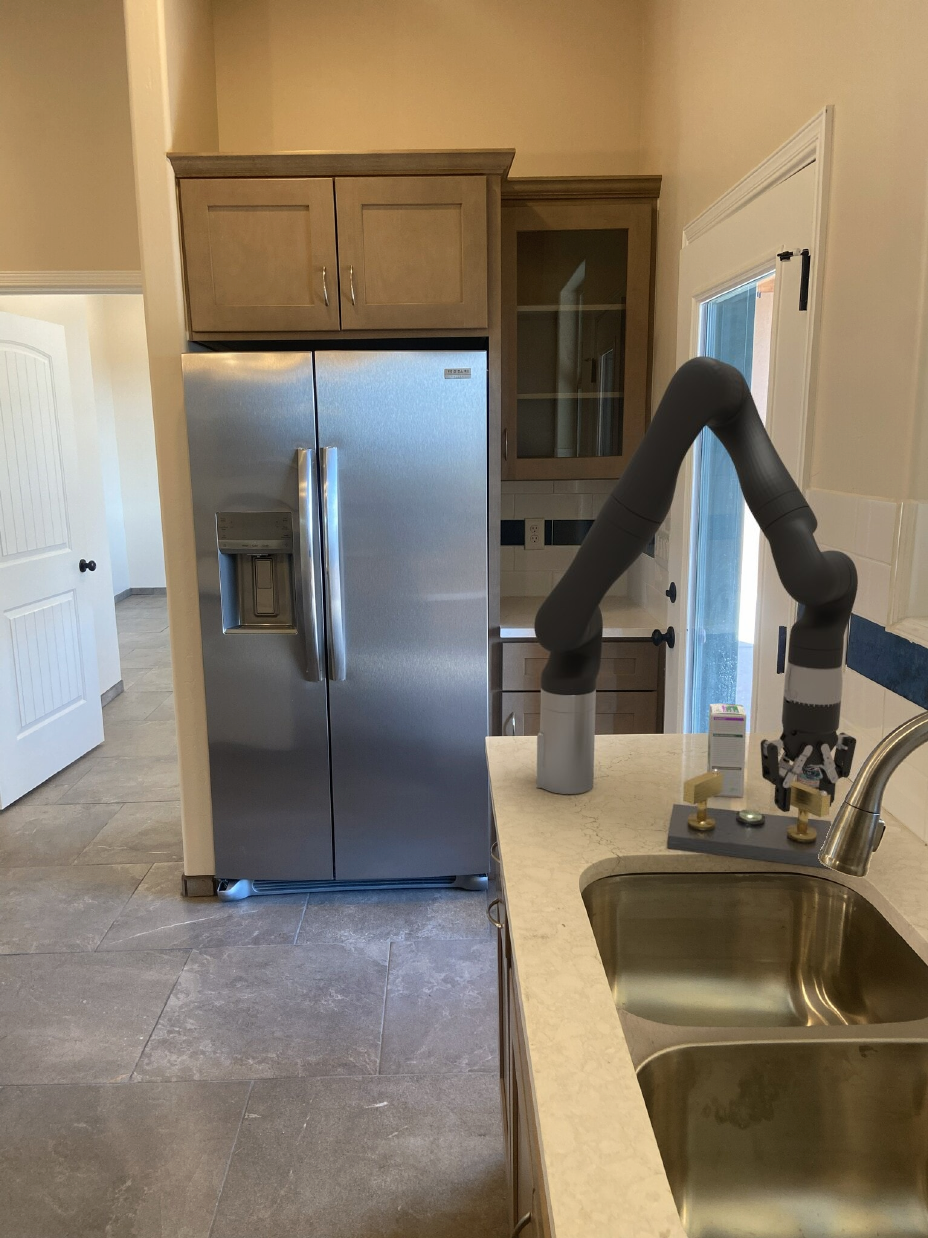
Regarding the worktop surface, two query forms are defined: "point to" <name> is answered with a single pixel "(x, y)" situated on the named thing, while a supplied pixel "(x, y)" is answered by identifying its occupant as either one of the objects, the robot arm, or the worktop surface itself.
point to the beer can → (809, 776)
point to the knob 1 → (702, 798)
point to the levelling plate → (746, 836)
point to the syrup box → (727, 746)
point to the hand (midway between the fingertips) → (803, 807)
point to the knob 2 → (807, 810)
